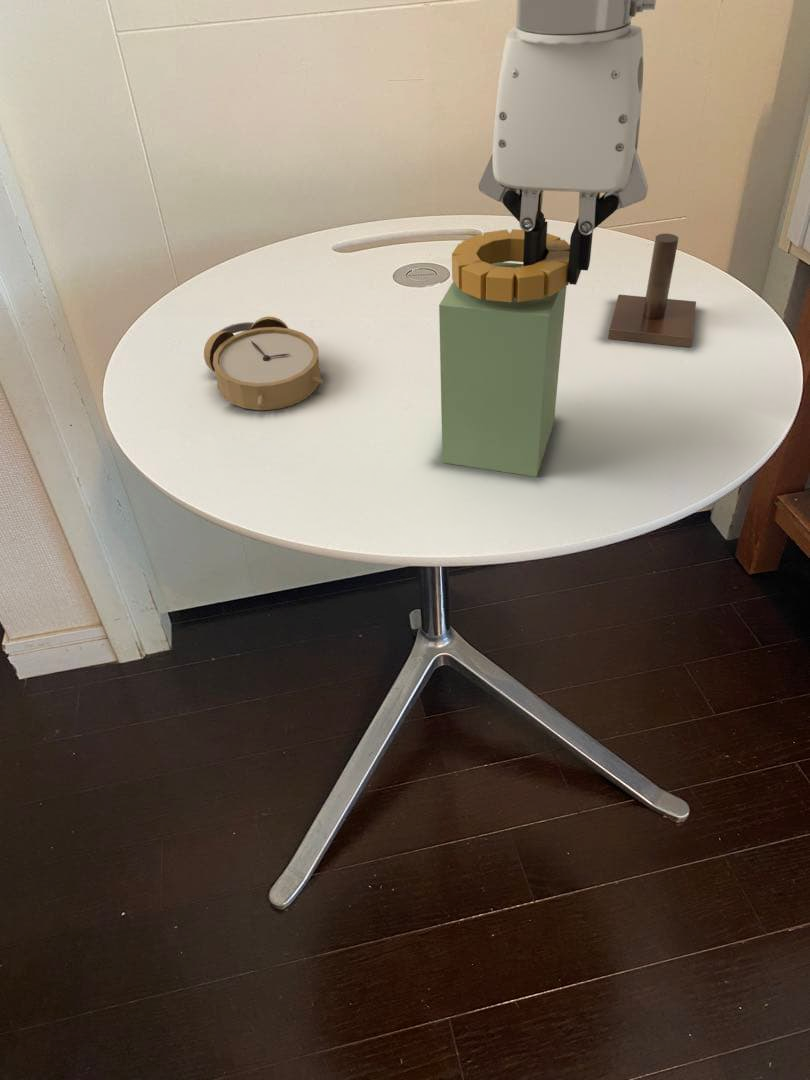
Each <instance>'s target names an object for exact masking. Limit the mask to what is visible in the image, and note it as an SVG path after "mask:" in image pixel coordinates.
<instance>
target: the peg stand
mask: <svg viewBox="0 0 810 1080" xmlns="http://www.w3.org/2000/svg"><path fill="white" fill-rule="evenodd" d="M678 243H679V237H678V235H675V234H672V233H658V234H657V235H655V238H654V243H653V250H652V255H651V262H650V268H649V274H648V281H647V287H646V293H645V296H642V295H641V296H639V295H629V294H618V295H617V299H616V301H615V307H614V310H613V313H612V314H613V315H612V318H611V322H610V325H609V328H608V334H607V335H608V336H607V339H608V340H616V341H617V340H618V341H625V342H626V341H627V342H635V343H636V342H637V343H646V344H654V345H663V346H665V345H666V346H674V347H675V346H676V347H683V348H691V345H692V341H693V335H694V334H693V332H694V325H695V316H696V308H697V301H696V300H686V299H685V300H684V299H672V298H669V293H670V288H671V282H672V277H673V272H674V266H675V260H676V255H677V250H678V245H679V244H678Z"/></svg>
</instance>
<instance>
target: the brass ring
mask: <svg viewBox="0 0 810 1080" xmlns="http://www.w3.org/2000/svg"><path fill="white" fill-rule="evenodd" d="M569 251H570V243H568V241H567V240H566V239H562V238H561V237H560V236H557V235H553V234H550V233H548V232H547V239H546V252H545V259H544V260H542V261H540V262H538V263H536V264H533V265H528V266H521V267H515V268H513V267H500V266H494V265H491V264H494V263H501V262H505V263H509V262H514V263H517V262H518V263H523V255H524V230H522V229H516V228H515V229H514V228H512V229H511V230H510V231H509V230H508V229H501V230H492V231H486V232H483V234H480V233H479V234H475V235H473V236H470V237H469V238H466V239H464V240H461V243H458V244H457V245H456V247H455V248H454V249H453V251H452V253H451V278H452V279H451V280H452V282H453V281H454V283H455V284H456V286H457V287H458V289H462V292H464V293H466V294H469V295H471V296H474V297H476V298H479V299H482V298H484V297H486V300H490V301H502V302H512V301H513V299H514V297H515V299H516V300H517V301H518V302H522V301H529V300H535V299H542V298H543V295H545V296H551V295H553V294H555V293H557V292H558V291H560V290H562V289H564V288H565V286H566V287H567V286H569V285H570V284H569V282H567V277H568V264H569Z"/></svg>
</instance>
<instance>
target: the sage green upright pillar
mask: <svg viewBox="0 0 810 1080" xmlns="http://www.w3.org/2000/svg"><path fill="white" fill-rule="evenodd" d="M491 265H494V266H500V267H513V268H515V267H521V266H524V265H523V263H517V262H501V263H494V264H491ZM566 293H567V285H566V286H565V288H564V289H562V290H560V291H558V292H557V293H555V294H553V295H551V296H545V295H543V298H542V299H535V300H529V301H522V302H518V301H517V300H516V299H515V297H514V299H513V301H512V302H502V301H490V300H486V297H484V298H482V299H479V298H476V297H474V296H471V295H469V294H466V293H464V292H462V289H458V287H457V286H456V284H455V283H454V281H453V280H452V283H451V284H450V286H449V287H448V290H447V291H446V292H445V294H444V296H443V298H442V300H440V303H439V304H438V316H439V317H438V318H439V319H438V320H439V361H440V362H439V363H440V365H439V366H440V367H439V369H440V370H439V371H440V407H441V408H440V410H441V412H440V413H441V416H440V417H441V455H442V456H441V458H442V459H441V460H442V463H443V464H448V465H449V464H450V465H455V466H461V467H468V468H476V469H482V470H488V471H495V472H501V473H502V472H503V473H508V474H513V475H514V474H515V475H522V476H529V477H535V478H538V475H539V472H540V468H541V465H542V462H543V459H544V456H545V453H546V449H547V446H548V443H549V440H550V437H551V433H552V430H553V428H554V424H555V416H556V406H557V393H558V384H559V382H558V381H559V371H560V361H561V351H562V340H563V328H564V318H565V317H564V316H565V306H566V295H567V294H566Z"/></svg>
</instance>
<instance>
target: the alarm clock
mask: <svg viewBox="0 0 810 1080" xmlns="http://www.w3.org/2000/svg"><path fill="white" fill-rule="evenodd" d="M236 333H237V334H236ZM203 359H204V362H205V364H206V366H207V367H208V369H210V371H212V372H213V373H215V377H216V378H215V379H216V385H217V389H218V391H219V393H220V395H221V397H222V398H224V399H225V400H226V401H227V402H229V404H231V405H235V406H237V407H239V408H243V409H247V410H255V411H271V410H279V409H283V408H288V407H291V406H294V405H297V404H299V403H300V402H302V401H304V400H306V399H308V398H309V397H310V396H311V395H313V393H314V392H315V391H317V389H318V386H319V385H323V384H324V379H322V378H321V368H320V361H319V347H318V346H317V344H316V343H315V341H314V339H312V338H311V337H310V336H308V335H307V334H306V333H304V332H301V331H298V330H295V329H293V328H289V327H288V325H287V324H286V322H284V321H283V320H282V319H280V318H277V317H275V316H263V317H260V318H259V319H257V320H255V321H254V322H250V321H249V322H248V321H247V322H245V321H244V322H239V323H238V322H237V323H234V324H230V325H228V326H225V327H223V328H222V329H220V330H219V331H217V332H214V333H213V334H211V336H209V338H207V340H206V342H205V345H204V349H203Z"/></svg>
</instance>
